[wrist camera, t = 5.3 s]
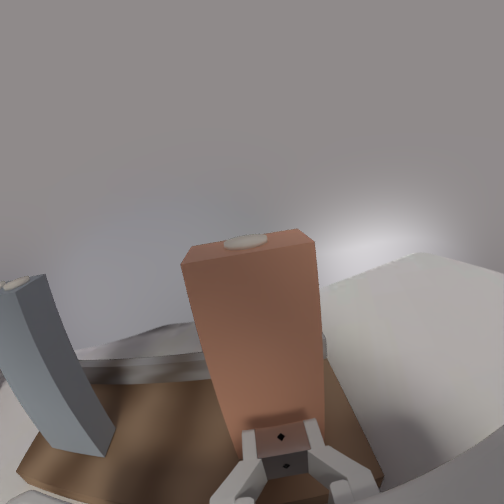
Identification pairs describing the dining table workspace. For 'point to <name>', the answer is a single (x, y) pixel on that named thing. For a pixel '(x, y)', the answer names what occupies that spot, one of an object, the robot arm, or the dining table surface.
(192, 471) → the board
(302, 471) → the robot arm
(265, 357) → the tile one
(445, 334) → the dining table surface
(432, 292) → the dining table surface
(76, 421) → the tile two
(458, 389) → the dining table surface
